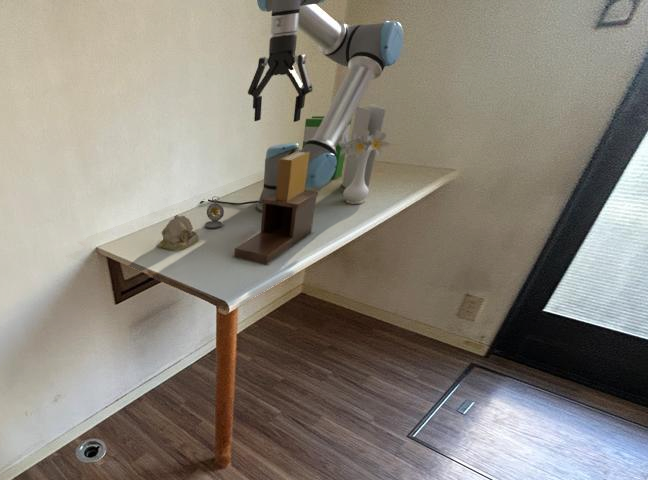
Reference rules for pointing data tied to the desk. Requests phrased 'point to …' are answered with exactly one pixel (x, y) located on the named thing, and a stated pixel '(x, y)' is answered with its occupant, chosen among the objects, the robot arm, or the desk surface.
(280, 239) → the step shelf
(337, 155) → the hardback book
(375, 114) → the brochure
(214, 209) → the pocket watch
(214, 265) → the desk surface
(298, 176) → the ochre book
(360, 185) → the flower vase
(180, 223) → the ceramic model
